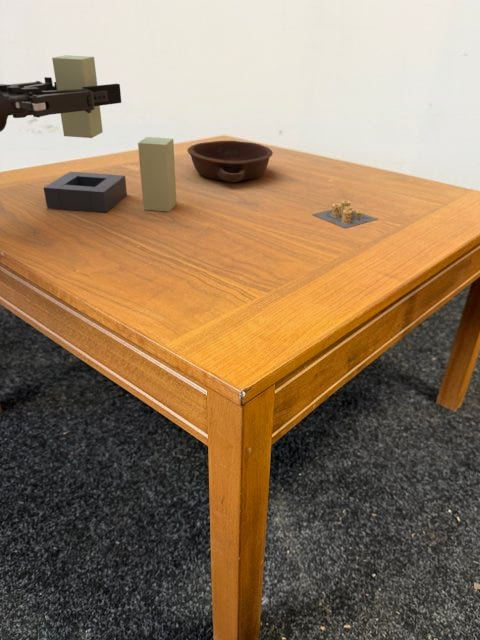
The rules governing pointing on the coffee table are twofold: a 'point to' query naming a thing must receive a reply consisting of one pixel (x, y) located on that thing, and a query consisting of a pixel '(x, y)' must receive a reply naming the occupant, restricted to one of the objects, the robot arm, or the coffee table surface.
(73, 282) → the coffee table surface
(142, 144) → the standing block
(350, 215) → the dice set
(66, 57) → the tall olive green block
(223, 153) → the dish
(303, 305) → the coffee table surface
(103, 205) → the socket block
